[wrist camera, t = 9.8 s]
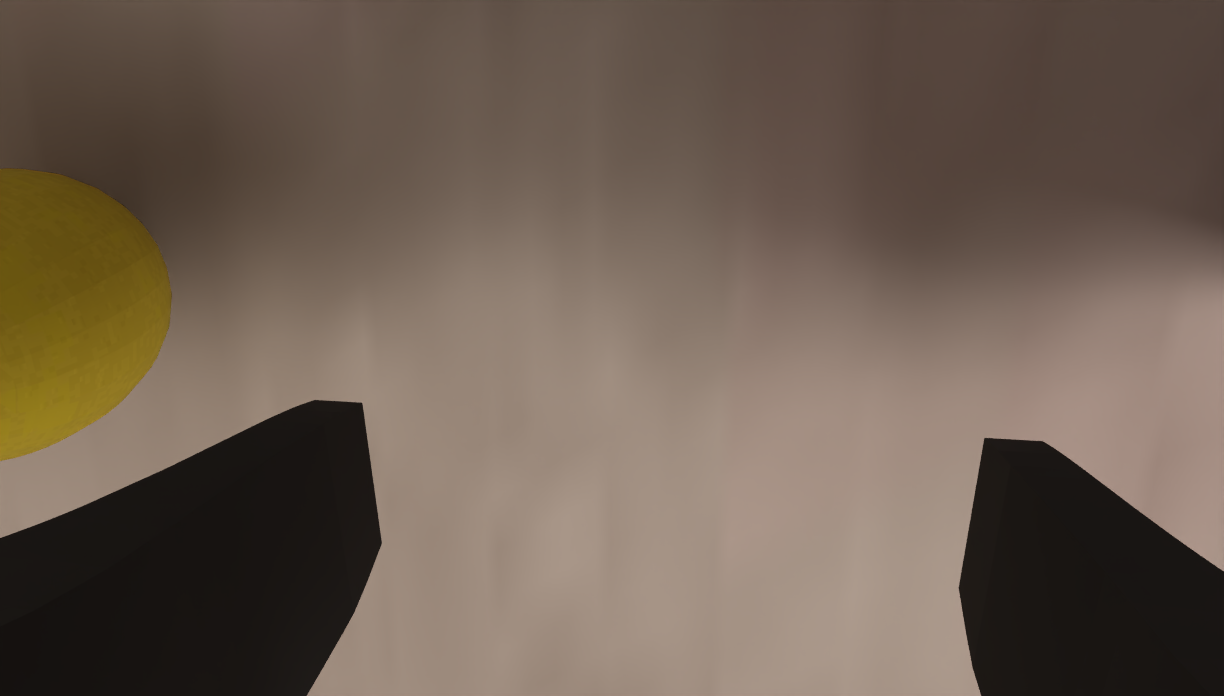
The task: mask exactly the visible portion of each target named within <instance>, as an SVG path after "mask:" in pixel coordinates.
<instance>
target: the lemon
mask: <svg viewBox="0 0 1224 696" xmlns="http://www.w3.org/2000/svg"><path fill="white" fill-rule="evenodd" d="M171 298H172V293H171V288H170V282H169V277H168V271H167V267H166V265H165V262H164V260H163V258H162V255H161V253H160V250H159V248H158V246H157V244H156V243H155V241H154V240H153V238H152V237H151V235H150V234H149V232H148V231H147V230H146V228H145V227H144V225H143V224H142V223H141V222H140V221H139V220H138V219H137V218H136V217H135V216H134V215H133V214H132V213H131V212H130V211H129V210H128V209H126V208H125V207H124V206H123V205H122V204H120V203H119V202H117V201H116V200H114V199H113V198H111V197H110V196H108V195H107V194H105V193H104V192H102V191H101V190H99V189H97V188H95V187H92V186H90V185H87V184H85V183H82V182H79V181H77V180H74V179H72V178H69V177H67V176H64V175H61V174H55V173H49V172H42V171H34V170H27V169H12V168H6V169H0V461H2V460H7V459H12V458H16V457H19V456H23V455H26V454H30V453H33V452H35V451H38V450H41V449H43V448H46V447H48V446H50V445H53V444H55V443H57V442H59V441H61V440H63V439H65V438H67V437H69V436H71V435H72V434H74V433H76V432H78V431H79V430H81V429H83V428H85V427H86V426H88V425H90V424H91V423H93V422H95V421H96V420H98V419H99V418H101V417H103V416H104V415H106V414H107V413H108V412H110V411H111V410H112V409H113V408H115V407H116V406H117V405H118V404H119V403H120V402H121V401H122V400H123V399H124V398H125V397H126V396H127V395H128V394H129V393H130V392H131V391H132V389H133V388H134V387H135V386H136V385H137V384H138V382H139V381H140V380H141V379H142V378H143V377H144V375H145V374H146V373H147V372H148V370H149V369H150V368H151V367H152V365H153V363H154V361H155V360H156V358H157V356H158V354H159V351H160V349H161V346H162V344H163V341H164V339H165V336H166V334H167V331H168V328H169V323H170V312H171Z"/></svg>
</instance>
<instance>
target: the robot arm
mask: <svg viewBox="0 0 1224 696" xmlns="http://www.w3.org/2000/svg"><path fill="white" fill-rule="evenodd" d="M381 544H382V541H381V534H380V527H379V520H378V512H377V505H376V498H375V491H374V484H373V477H372V469H371V462H370V455H369V448H368V441H367V434H366V426H365V419H364V412H363V405H362V403H357V402H339V401H321V400H314V401H311V402H308V403H305V404H302V405H299V406H297V407H294V408H292V409H289V410H287V411H285V412H282V413H280V414H278V415H276V416H274V417H271V418H269V419H267V420H265V421H263V422H261V423H259V424H257V425H254V426H252V427H250V428H248V429H246V430H244V431H242V432H240V433H238V434H236V435H234V436H232V437H230V438H228V439H226V440H224V441H222V442H220V443H218V444H216V445H214V446H211V447H209V448H207V449H205V450H203V451H201V452H199V453H197V454H195V455H193V456H191V457H189V458H187V459H185V460H183V461H181V462H179V463H177V464H175V465H173V466H171V467H168V468H166V469H164V470H162V471H160V472H158V473H155V474H153V475H151V476H149V477H147V478H144V479H142V480H140V481H138V482H135V483H133V484H131V485H129V486H127V487H124V488H122V489H120V490H118V491H115V492H113V493H111V494H109V495H107V496H104V497H102V498H100V499H98V500H96V501H93V502H91V503H89V504H87V505H84V506H82V507H80V508H77V509H75V510H72V511H70V512H68V513H65V514H63V515H60V516H58V517H55V518H53V519H50V520H48V521H45V522H43V523H40V524H37V525H35V526H32V527H30V528H27V529H24V530H21V531H19V532H16V533H13V534H10V535H8V536H5V537H2V538H0V696H307V694H308V692H309V691H310V689H311V687H312V685H313V684H314V682H315V680H316V679H317V677H318V675H319V674H320V672H321V670H322V668H323V667H324V665H325V663H326V661H327V660H328V658H329V656H330V655H331V653H332V651H333V649H334V648H335V646H336V644H337V642H338V641H339V639H340V637H341V635H342V634H343V632H344V630H345V628H346V626H347V625H348V623H349V621H350V619H351V617H352V616H353V614H354V612H355V609H356V607H357V605H358V602H359V600H360V597H361V595H362V593H363V590H364V588H365V586H366V583H367V581H368V578H369V576H370V573H371V570H372V568H373V565H374V562H375V560H376V557H377V555H378V552H379V549H380V547H381ZM959 592H960V598H961V604H962V610H963V617H964V623H965V629H966V635H967V640H968V645H969V650H970V656H971V661H972V666H973V670H974V673H975V677H976V680H977V683H978V687H979V690H980V693H981V696H1224V571H1222V570H1221V569H1219V568H1218V567H1216V566H1215V565H1213V564H1212V563H1210V562H1209V561H1207V560H1206V559H1205V558H1203V557H1202V556H1200V555H1199V554H1197V553H1196V552H1194V551H1193V550H1192V549H1190V548H1189V547H1187V546H1186V545H1184V544H1183V543H1182V542H1180V541H1179V540H1177V539H1176V538H1175V537H1173V536H1172V535H1170V534H1169V533H1168V532H1166V531H1165V530H1164V529H1162V528H1161V527H1160V526H1158V525H1157V524H1155V523H1154V522H1153V521H1151V520H1150V519H1149V518H1147V517H1146V516H1145V515H1143V514H1142V513H1141V512H1139V511H1138V510H1137V509H1135V508H1134V507H1133V506H1131V505H1130V504H1129V503H1127V502H1126V501H1125V500H1123V499H1122V498H1121V497H1119V496H1118V495H1117V494H1115V493H1114V492H1113V491H1111V490H1110V489H1109V488H1107V487H1106V486H1105V485H1103V484H1102V483H1101V482H1099V481H1098V480H1097V479H1095V478H1094V477H1093V476H1092V475H1090V474H1089V473H1088V472H1086V471H1085V470H1084V469H1082V468H1081V467H1079V466H1078V465H1077V464H1075V463H1074V462H1073V461H1071V460H1070V459H1069V458H1067V457H1066V456H1064V455H1063V454H1062V453H1060V452H1059V451H1057V450H1056V449H1054V448H1053V447H1051V446H1050V445H1048V444H1046V443H1045V442H1043V441H1028V440H1011V439H993V438H984V444H983V450H982V455H981V461H980V467H979V473H978V479H977V485H976V490H975V496H974V502H973V508H972V514H971V520H970V526H969V531H968V537H967V543H966V549H965V555H964V561H963V566H962V572H961V578H960V584H959Z"/></svg>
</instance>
